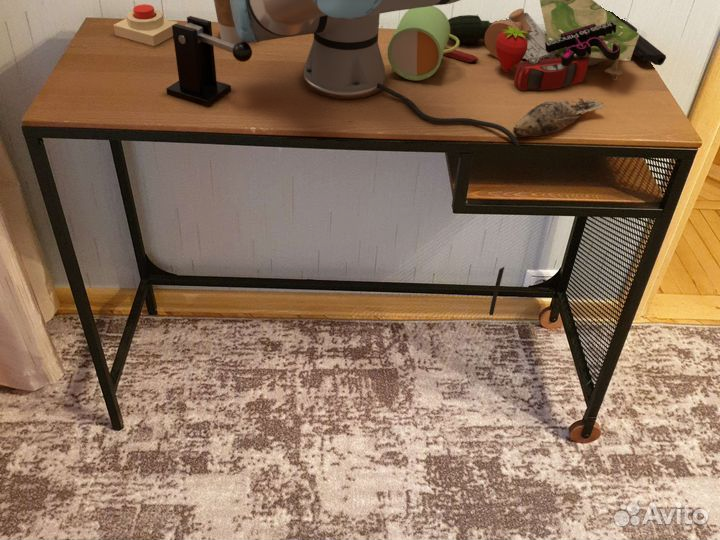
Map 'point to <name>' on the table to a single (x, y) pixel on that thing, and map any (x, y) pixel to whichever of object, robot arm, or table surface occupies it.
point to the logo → (581, 48)
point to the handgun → (645, 48)
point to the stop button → (144, 11)
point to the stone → (536, 42)
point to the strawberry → (511, 47)
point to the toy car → (549, 73)
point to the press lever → (224, 44)
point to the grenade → (468, 28)
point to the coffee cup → (226, 22)
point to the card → (576, 10)
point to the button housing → (145, 28)
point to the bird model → (552, 117)
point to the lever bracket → (196, 66)
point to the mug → (420, 43)
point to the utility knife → (461, 55)
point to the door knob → (503, 24)
